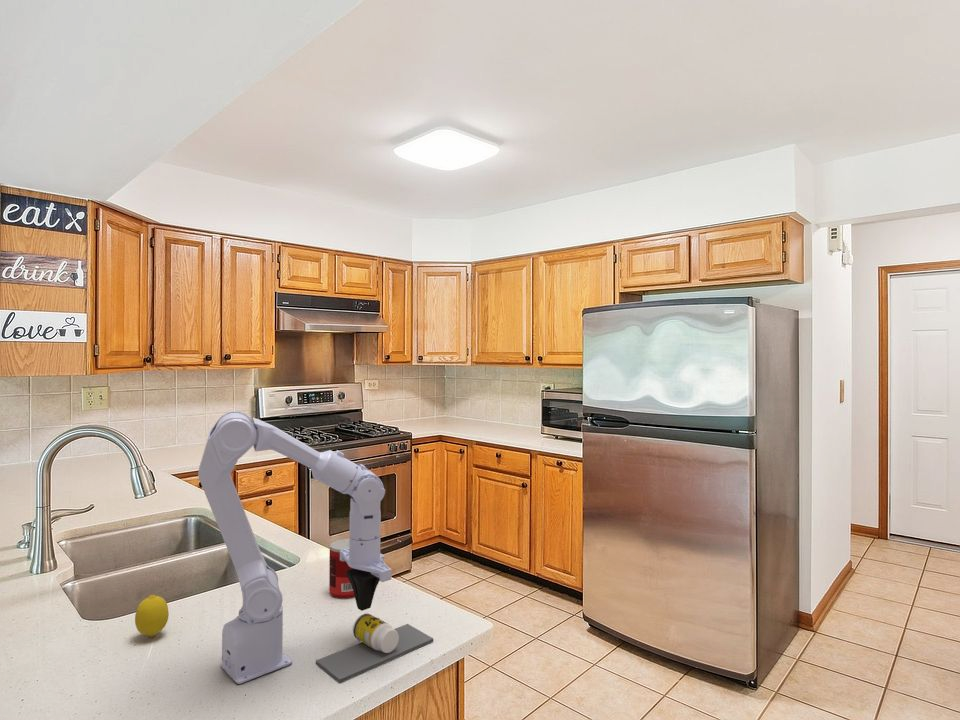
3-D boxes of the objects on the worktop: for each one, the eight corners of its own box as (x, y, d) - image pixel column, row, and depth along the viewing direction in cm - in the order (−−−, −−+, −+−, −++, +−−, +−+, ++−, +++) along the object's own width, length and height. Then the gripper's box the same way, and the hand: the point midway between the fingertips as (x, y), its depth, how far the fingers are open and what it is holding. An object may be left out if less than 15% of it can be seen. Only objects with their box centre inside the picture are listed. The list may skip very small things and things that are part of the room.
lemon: (127, 641, 108) (128, 598, 108) (153, 627, 113) (154, 587, 113) (149, 646, 106) (150, 603, 106) (175, 633, 111) (175, 591, 111)
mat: (339, 683, 95) (339, 679, 95) (315, 663, 101) (315, 660, 101) (433, 641, 109) (433, 638, 109) (407, 626, 115) (407, 623, 115)
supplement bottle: (373, 609, 111) (401, 624, 105) (372, 634, 111) (400, 650, 105) (352, 616, 107) (380, 632, 102) (351, 642, 107) (379, 659, 102)
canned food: (372, 589, 132) (372, 542, 132) (346, 602, 126) (346, 552, 126) (347, 582, 137) (348, 535, 136) (321, 594, 130) (322, 545, 130)
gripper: (405, 540, 105) (404, 614, 106) (362, 522, 116) (361, 590, 116) (373, 549, 101) (372, 627, 101) (330, 530, 111) (329, 600, 111)
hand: (364, 608), depth 108 cm, fingers closed
